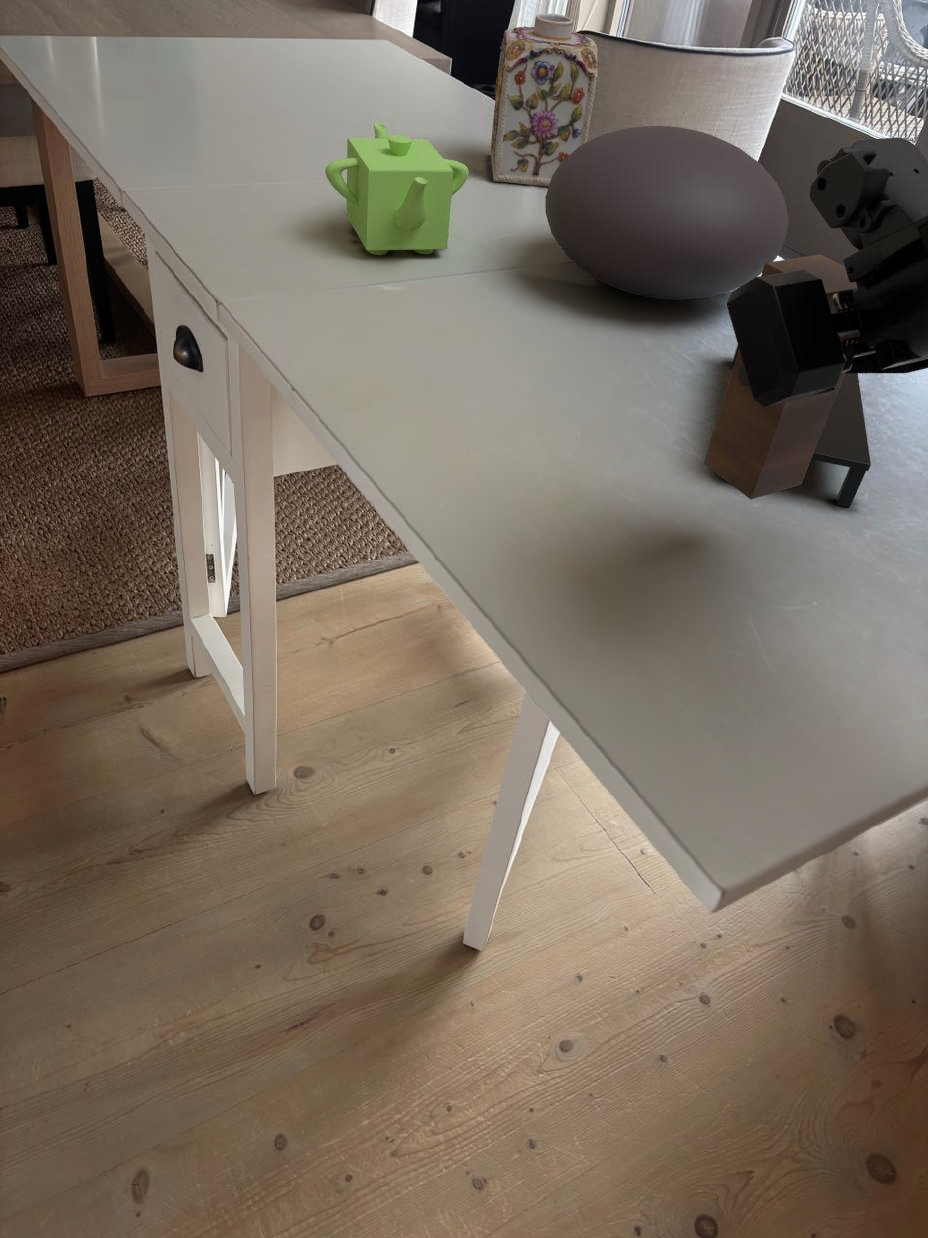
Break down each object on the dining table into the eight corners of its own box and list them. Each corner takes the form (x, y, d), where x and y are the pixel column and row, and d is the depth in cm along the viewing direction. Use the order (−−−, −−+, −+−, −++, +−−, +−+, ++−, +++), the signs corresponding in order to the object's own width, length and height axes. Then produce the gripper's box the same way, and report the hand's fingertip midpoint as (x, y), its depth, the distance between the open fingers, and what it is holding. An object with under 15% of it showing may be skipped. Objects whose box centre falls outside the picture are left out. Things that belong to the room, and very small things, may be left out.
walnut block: (801, 484, 62) (880, 283, 53) (750, 499, 60) (823, 293, 51) (753, 449, 65) (820, 253, 56) (703, 463, 63) (764, 262, 54)
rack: (837, 381, 88) (859, 326, 84) (851, 509, 72) (879, 447, 68) (731, 360, 89) (748, 304, 86) (720, 480, 73) (741, 418, 69)
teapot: (373, 208, 110) (377, 108, 103) (477, 236, 107) (488, 134, 100) (305, 247, 100) (304, 139, 93) (419, 279, 96) (426, 169, 89)
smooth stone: (592, 342, 89) (625, 177, 79) (502, 242, 106) (520, 95, 96) (809, 328, 97) (864, 175, 87) (691, 236, 114) (726, 100, 104)
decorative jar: (572, 163, 131) (596, 12, 119) (580, 190, 123) (607, 31, 111) (487, 154, 131) (503, 2, 119) (489, 182, 122) (507, 20, 110)
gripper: (1073, 89, 48) (837, 231, 63) (818, 102, 40) (615, 262, 55) (1130, 299, 49) (883, 393, 63) (889, 352, 41) (668, 447, 55)
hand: (769, 370), depth 59 cm, fingers closed on walnut block, 4 cm apart
